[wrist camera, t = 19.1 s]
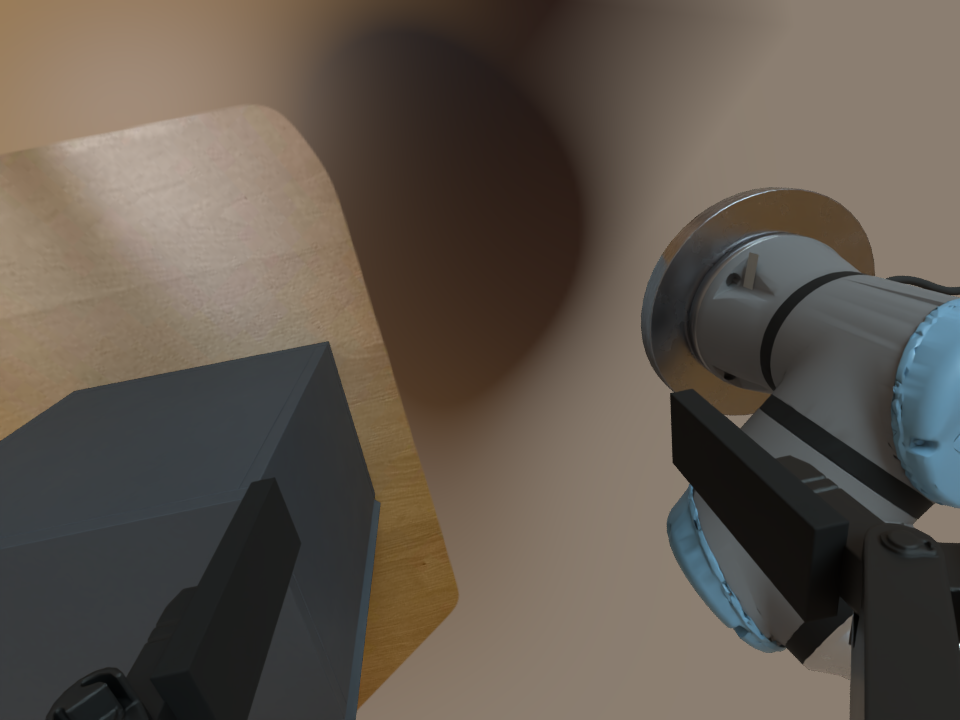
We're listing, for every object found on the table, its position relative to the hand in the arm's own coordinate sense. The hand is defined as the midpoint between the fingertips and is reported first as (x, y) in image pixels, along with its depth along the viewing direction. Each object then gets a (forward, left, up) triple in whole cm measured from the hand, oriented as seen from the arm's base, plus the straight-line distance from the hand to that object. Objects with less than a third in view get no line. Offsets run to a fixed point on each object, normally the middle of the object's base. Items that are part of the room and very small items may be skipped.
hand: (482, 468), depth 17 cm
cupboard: (+24, +14, -33) cm, 43 cm away
